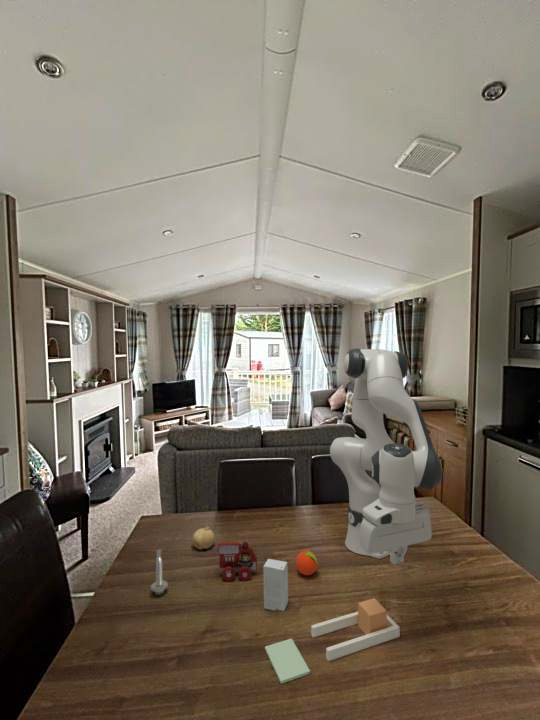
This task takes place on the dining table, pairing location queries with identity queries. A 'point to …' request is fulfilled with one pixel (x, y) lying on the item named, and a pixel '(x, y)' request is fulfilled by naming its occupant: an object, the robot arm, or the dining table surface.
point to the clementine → (306, 563)
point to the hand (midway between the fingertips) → (396, 562)
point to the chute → (357, 643)
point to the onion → (203, 538)
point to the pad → (287, 660)
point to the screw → (159, 576)
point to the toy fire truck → (236, 560)
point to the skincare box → (275, 584)
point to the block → (371, 616)
